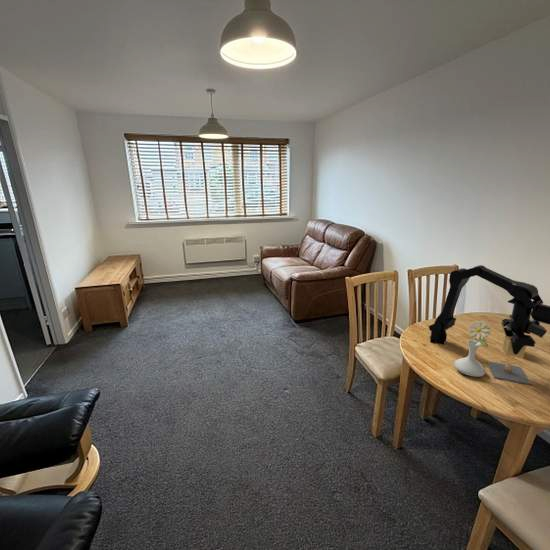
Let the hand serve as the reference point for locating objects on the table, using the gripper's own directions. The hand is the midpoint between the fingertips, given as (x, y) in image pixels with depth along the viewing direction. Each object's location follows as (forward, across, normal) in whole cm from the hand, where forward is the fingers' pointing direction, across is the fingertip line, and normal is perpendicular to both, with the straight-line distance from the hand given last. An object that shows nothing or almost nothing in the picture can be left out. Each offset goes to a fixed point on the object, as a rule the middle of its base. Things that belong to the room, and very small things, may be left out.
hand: (513, 350), depth 121 cm
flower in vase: (+11, -5, +15) cm, 19 cm away
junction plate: (+11, 0, 0) cm, 11 cm away
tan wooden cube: (+1, 0, 0) cm, 1 cm away
